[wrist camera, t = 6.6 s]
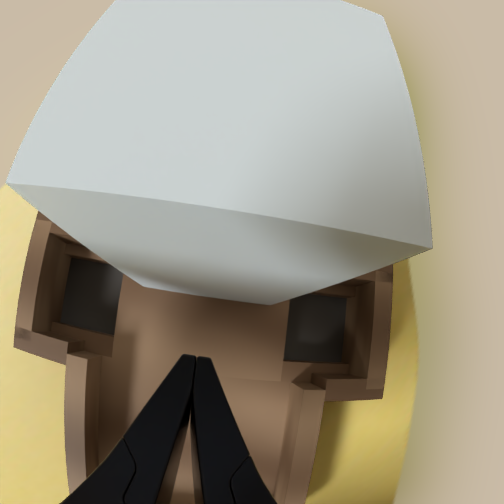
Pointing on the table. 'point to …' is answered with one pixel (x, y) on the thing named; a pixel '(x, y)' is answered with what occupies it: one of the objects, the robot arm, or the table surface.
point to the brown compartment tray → (199, 344)
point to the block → (232, 147)
